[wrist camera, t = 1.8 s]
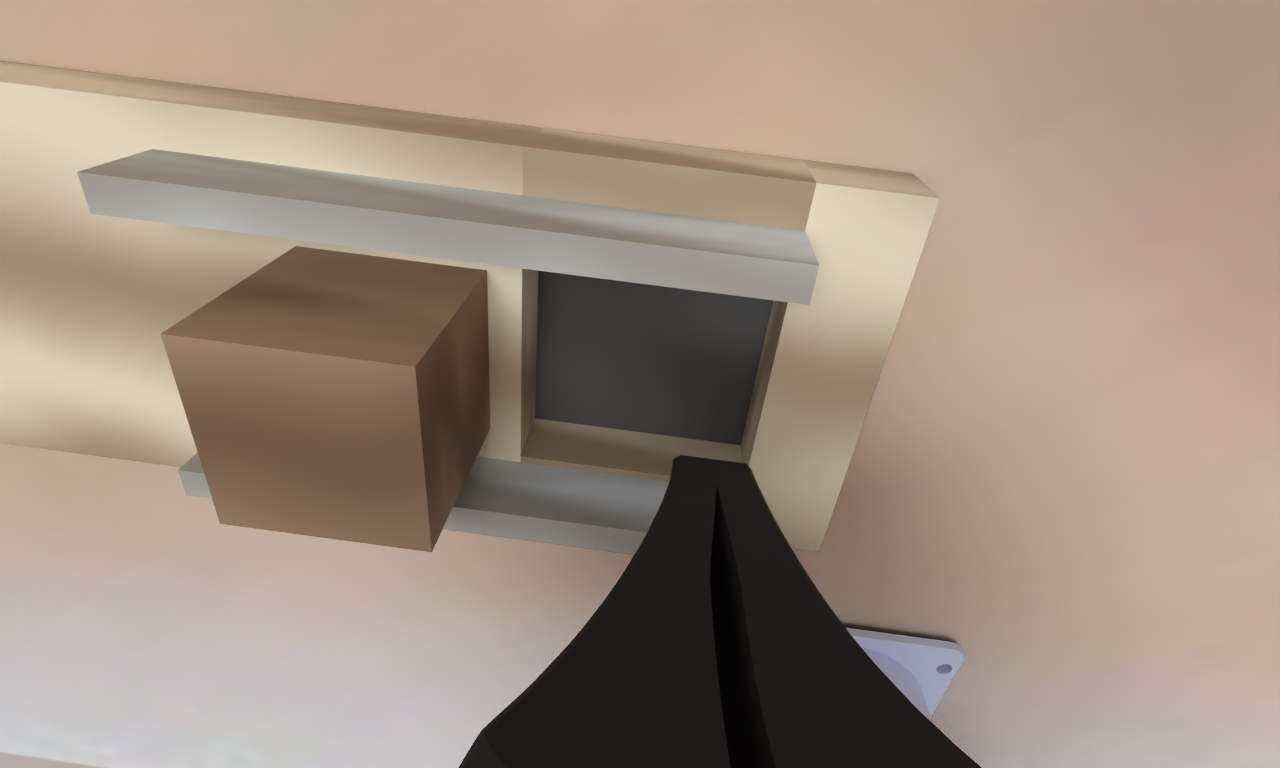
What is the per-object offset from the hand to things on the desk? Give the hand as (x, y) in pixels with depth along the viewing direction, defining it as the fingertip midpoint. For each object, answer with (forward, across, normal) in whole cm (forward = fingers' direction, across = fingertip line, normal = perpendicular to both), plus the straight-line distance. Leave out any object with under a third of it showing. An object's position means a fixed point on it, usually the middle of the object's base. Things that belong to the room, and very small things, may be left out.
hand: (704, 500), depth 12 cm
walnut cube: (+4, +8, 0) cm, 9 cm away
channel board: (+6, +8, 0) cm, 11 cm away
